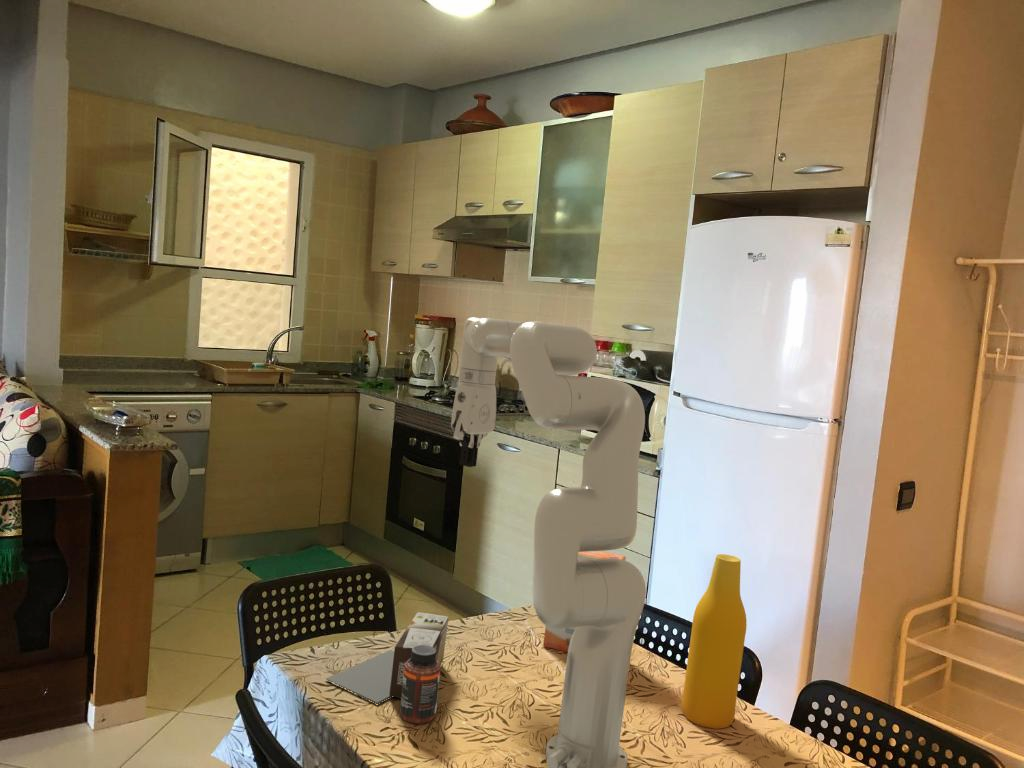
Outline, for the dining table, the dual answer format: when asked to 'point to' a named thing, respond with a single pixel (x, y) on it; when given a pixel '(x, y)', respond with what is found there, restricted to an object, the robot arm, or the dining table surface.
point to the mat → (368, 677)
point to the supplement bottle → (420, 685)
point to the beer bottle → (716, 648)
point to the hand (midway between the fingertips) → (467, 465)
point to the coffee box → (418, 633)
